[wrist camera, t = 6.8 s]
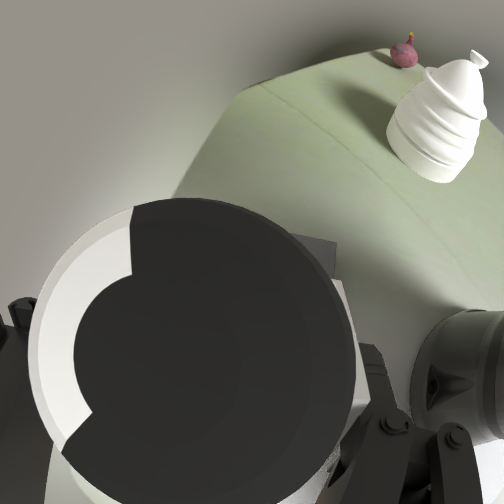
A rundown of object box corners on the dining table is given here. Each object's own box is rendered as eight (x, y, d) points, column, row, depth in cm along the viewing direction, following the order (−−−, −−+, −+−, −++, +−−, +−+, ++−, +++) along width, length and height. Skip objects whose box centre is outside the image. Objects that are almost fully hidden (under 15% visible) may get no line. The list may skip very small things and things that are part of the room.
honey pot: (414, 114, 37) (452, 31, 21) (467, 168, 33) (524, 90, 17) (369, 128, 35) (409, 21, 18) (432, 195, 30) (506, 94, 14)
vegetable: (415, 73, 45) (429, 40, 35) (404, 77, 43) (419, 40, 34) (394, 60, 46) (405, 26, 37) (381, 62, 45) (393, 26, 36)
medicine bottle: (304, 317, 15) (409, 188, 4) (280, 440, 13) (340, 581, 2) (182, 293, 16) (68, 146, 5) (154, 410, 13) (-21, 446, 2)
